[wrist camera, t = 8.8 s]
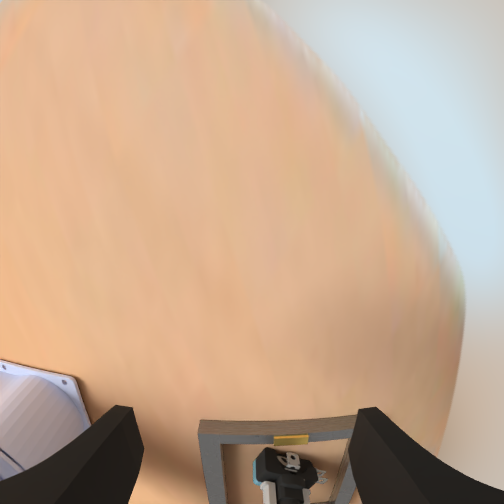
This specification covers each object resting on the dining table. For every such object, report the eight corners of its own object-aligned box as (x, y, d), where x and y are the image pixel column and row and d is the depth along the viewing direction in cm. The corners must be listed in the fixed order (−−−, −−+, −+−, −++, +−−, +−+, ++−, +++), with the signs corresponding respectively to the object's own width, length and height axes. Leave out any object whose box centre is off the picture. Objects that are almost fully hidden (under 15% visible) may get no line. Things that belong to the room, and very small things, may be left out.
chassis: (213, 509, 24) (212, 523, 22) (200, 419, 21) (197, 436, 19) (341, 504, 24) (344, 516, 22) (372, 412, 21) (379, 427, 19)
